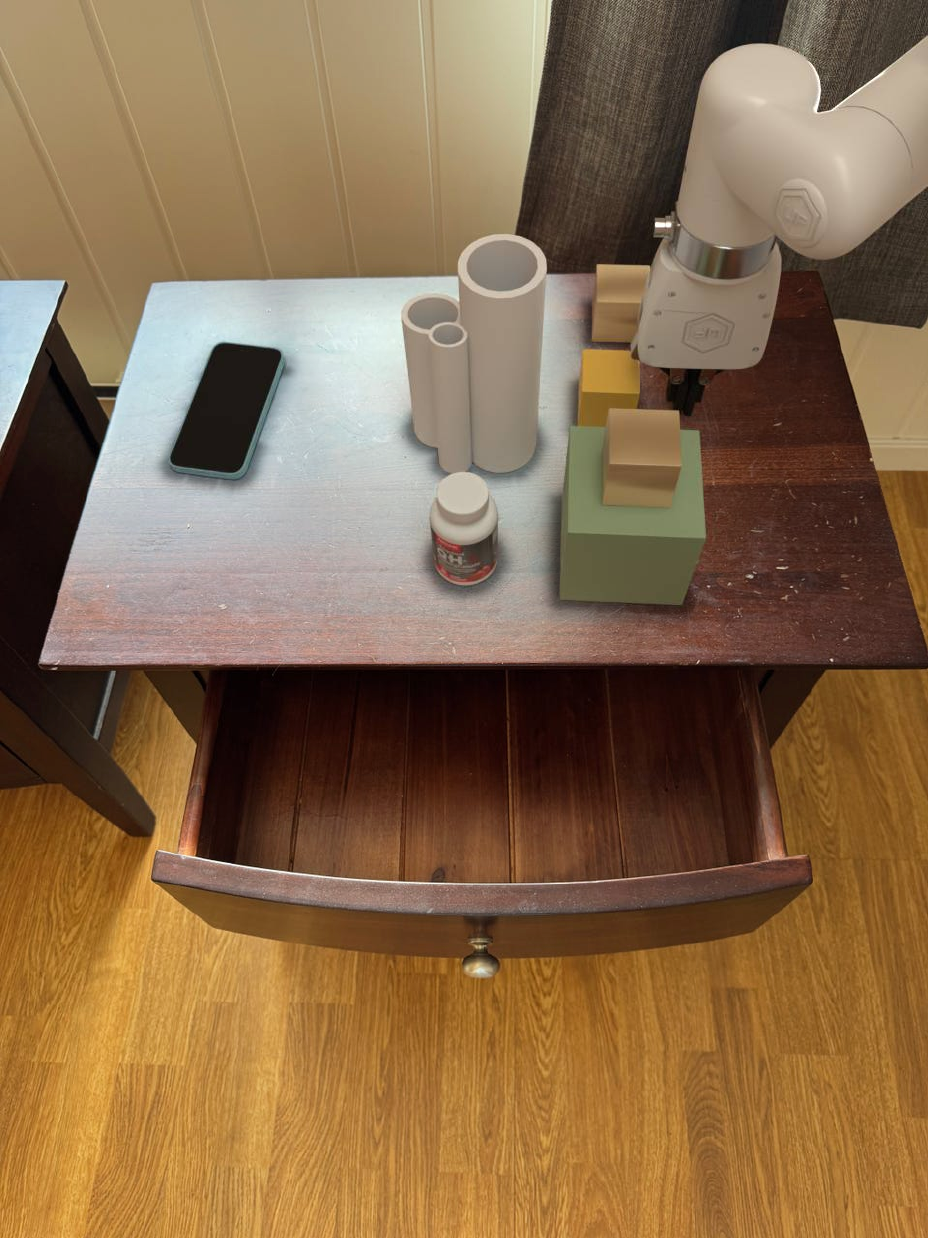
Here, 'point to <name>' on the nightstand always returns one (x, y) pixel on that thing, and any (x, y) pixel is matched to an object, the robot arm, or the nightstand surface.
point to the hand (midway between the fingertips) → (681, 403)
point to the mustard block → (606, 385)
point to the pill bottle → (464, 529)
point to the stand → (628, 530)
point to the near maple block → (641, 457)
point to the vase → (480, 357)
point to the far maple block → (617, 301)
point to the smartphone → (227, 411)
